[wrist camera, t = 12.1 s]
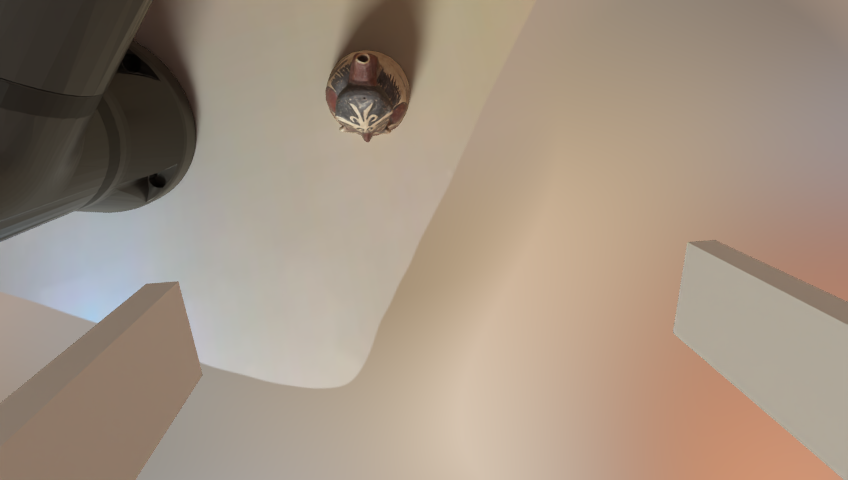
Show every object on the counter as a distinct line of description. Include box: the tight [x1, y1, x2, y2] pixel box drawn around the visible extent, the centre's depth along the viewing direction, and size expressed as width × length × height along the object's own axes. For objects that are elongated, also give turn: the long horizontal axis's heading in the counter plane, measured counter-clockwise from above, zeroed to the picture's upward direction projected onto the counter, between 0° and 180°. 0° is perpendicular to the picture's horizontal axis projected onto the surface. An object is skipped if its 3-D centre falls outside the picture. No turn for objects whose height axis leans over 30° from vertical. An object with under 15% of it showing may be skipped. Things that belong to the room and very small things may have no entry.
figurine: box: [326, 50, 410, 142], centre depth 34 cm, size 7×7×12 cm
